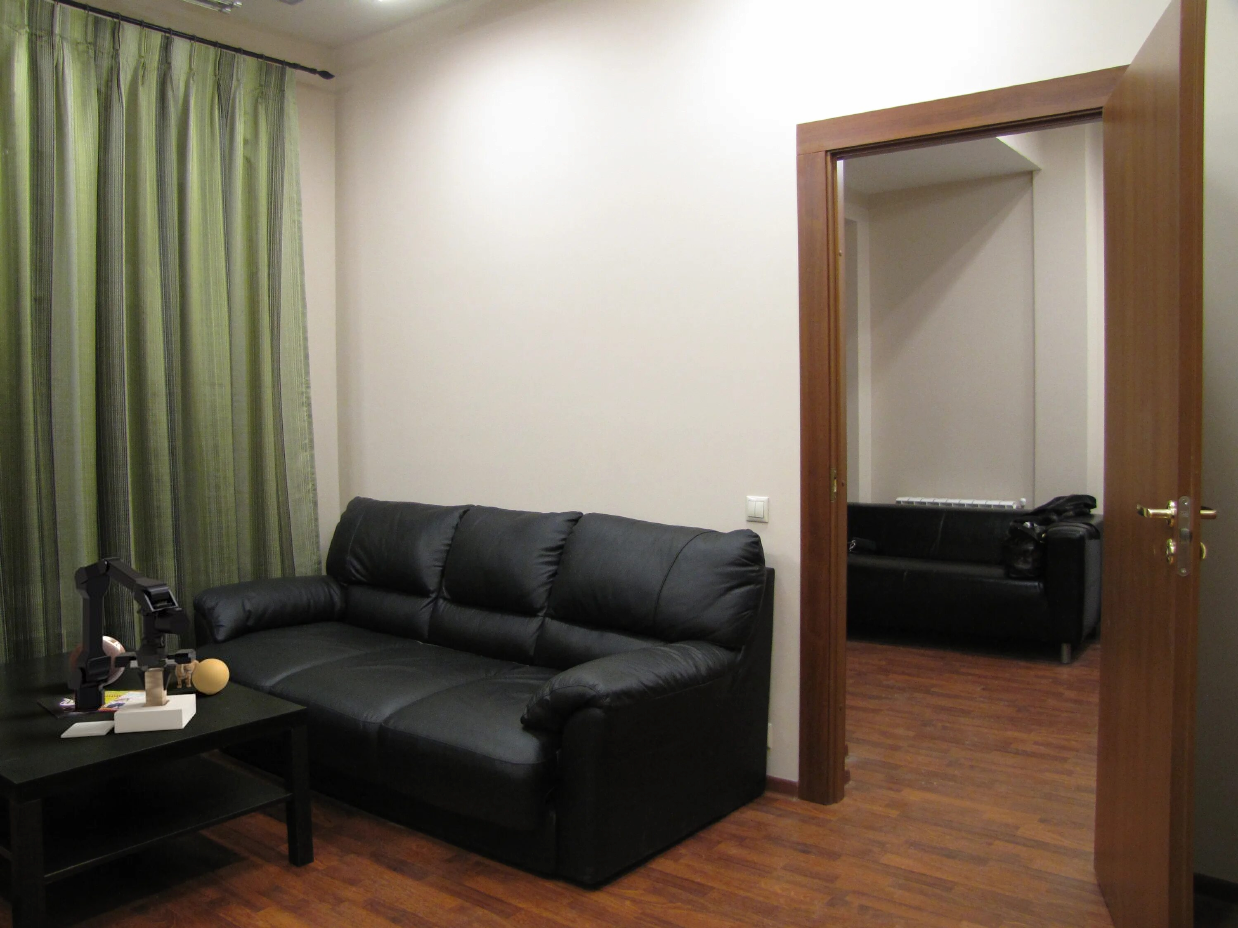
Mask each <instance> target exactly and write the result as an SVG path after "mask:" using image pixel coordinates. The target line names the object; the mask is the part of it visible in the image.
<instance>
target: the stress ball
mask: <svg viewBox="0 0 1238 928" xmlns="http://www.w3.org/2000/svg"><path fill="white" fill-rule="evenodd" d="M229 678H230V672H229V668H228V666H227V664H225V663H224V661H222V660H219V659H216V658H208V659H206V658H205V659H204V660H202V661H200V662H199V663H198V664H197V665H196V667H195V668H194V670H193V672H192V674H191V682H192V684H193V685H194V687H195V689H196V690H198V691H199V692H201V693H203V694H206V695H208V696H209V695H215V694H216V693H218V692H219V691H221V690H222V689H224V688H225V686H226V685H227V684H228V682H229Z"/></svg>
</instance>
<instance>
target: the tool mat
mask: <svg viewBox="0 0 1238 928" xmlns="http://www.w3.org/2000/svg"><path fill="white" fill-rule="evenodd" d="M113 728H115V722H114V720H103V721H89V722H86V721H85V722H76V723H74V724H73V725H72V726H70V727H69V728H68V729H67V730H66V731H64V732H63V733H62V734H61V736H60V738H62V739H63V738H77V737H88V736H89V737H91V736H94V737H95V736H105V735H106V734H107V733H108V732H110V731H111V730H112V729H113Z"/></svg>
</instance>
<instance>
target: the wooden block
mask: <svg viewBox="0 0 1238 928" xmlns="http://www.w3.org/2000/svg"><path fill="white" fill-rule="evenodd" d="M163 682H164V668H163V667H154V668H148V670H147V671H146V672H145V689H144V692H145V697H146V707H153V706H163V705H164V704H165V703H166V702H167V696H168V695H167V689H166V690H165V691H164V688H163Z"/></svg>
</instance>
